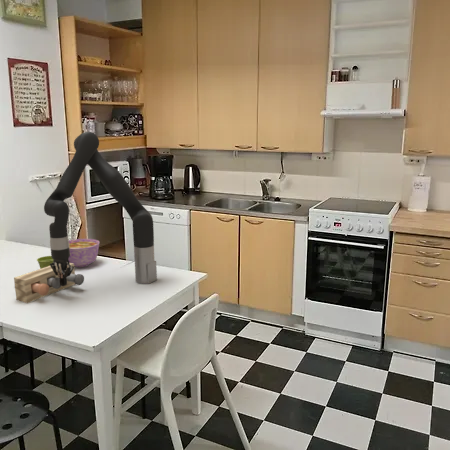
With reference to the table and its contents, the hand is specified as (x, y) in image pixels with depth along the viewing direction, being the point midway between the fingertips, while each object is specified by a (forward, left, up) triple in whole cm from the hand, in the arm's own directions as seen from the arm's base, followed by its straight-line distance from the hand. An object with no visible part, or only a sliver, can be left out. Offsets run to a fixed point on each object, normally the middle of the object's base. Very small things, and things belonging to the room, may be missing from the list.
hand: (63, 285), depth 199 cm
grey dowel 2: (+4, -8, -2) cm, 9 cm away
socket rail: (+11, 0, -5) cm, 12 cm away
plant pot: (+28, -15, -5) cm, 32 cm away
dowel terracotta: (+7, +8, -2) cm, 11 cm away
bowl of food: (+27, -35, -5) cm, 44 cm away
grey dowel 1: (+9, 0, -2) cm, 9 cm away
